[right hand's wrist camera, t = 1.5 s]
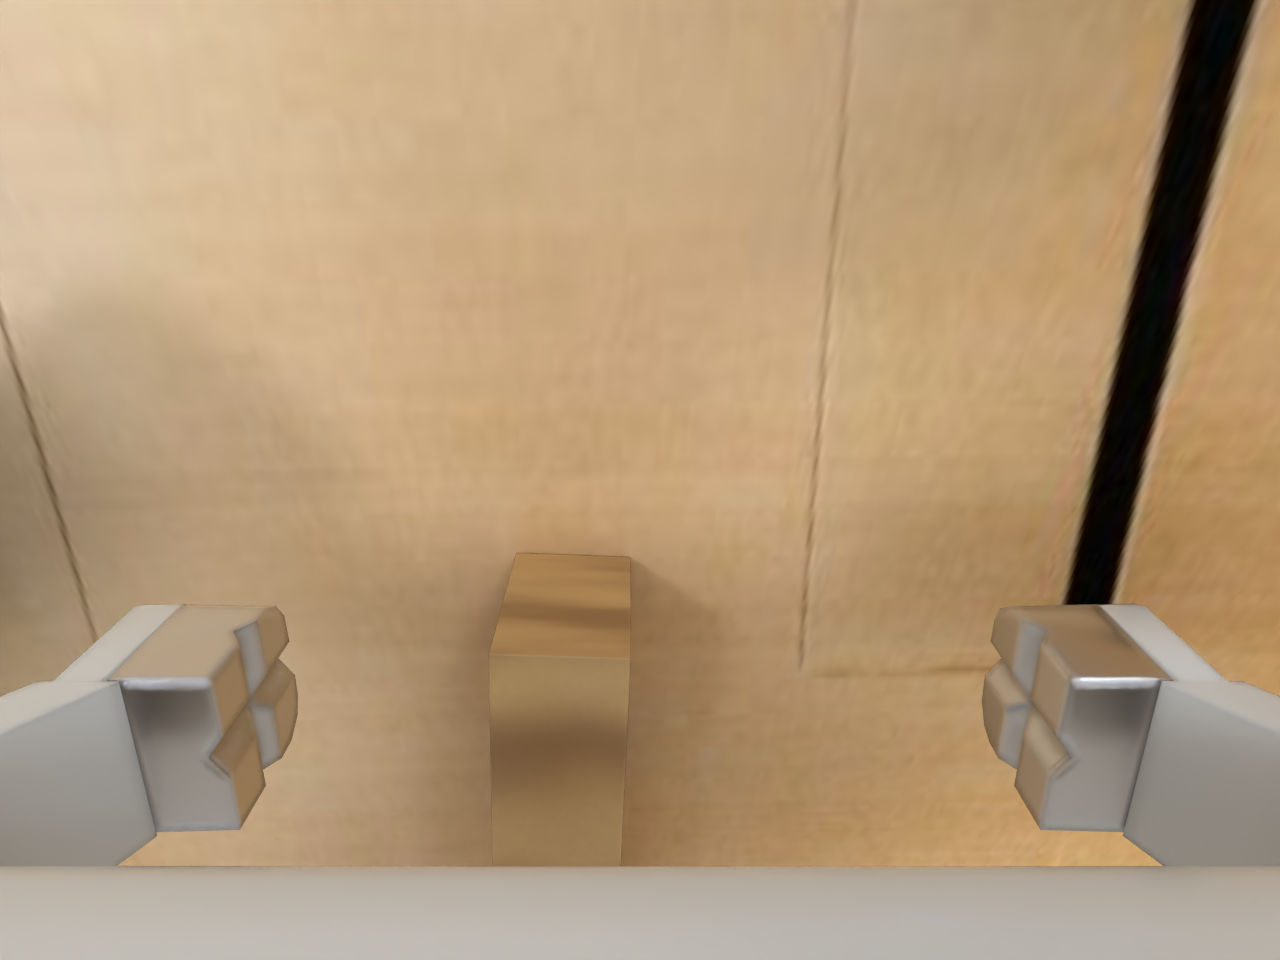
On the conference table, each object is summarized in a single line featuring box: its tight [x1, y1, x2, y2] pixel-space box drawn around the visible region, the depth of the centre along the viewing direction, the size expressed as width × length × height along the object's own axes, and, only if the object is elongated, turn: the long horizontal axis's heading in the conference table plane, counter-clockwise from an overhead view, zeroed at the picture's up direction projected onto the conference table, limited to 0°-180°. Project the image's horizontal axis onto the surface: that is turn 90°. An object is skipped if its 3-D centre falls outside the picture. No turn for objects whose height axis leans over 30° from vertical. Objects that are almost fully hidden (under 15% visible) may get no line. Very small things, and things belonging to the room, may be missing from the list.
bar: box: [489, 553, 631, 866], centre depth 43 cm, size 26×6×9 cm, turn 177°
